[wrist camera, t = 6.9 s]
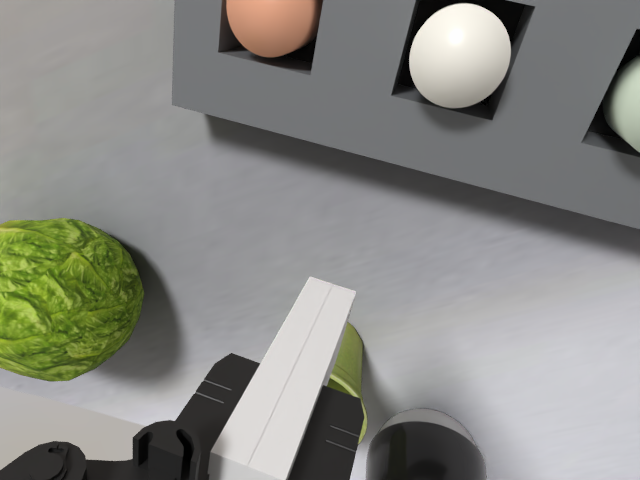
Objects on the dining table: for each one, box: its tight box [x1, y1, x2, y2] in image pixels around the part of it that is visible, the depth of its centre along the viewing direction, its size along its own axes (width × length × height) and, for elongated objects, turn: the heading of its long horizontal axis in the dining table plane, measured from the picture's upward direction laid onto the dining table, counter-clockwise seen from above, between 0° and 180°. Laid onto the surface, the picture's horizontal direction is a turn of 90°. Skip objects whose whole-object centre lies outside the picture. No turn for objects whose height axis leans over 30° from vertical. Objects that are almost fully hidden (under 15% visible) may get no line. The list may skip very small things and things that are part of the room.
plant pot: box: [327, 322, 367, 444], centre depth 39 cm, size 9×9×9 cm
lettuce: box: [0, 218, 144, 381], centre depth 42 cm, size 13×22×14 cm
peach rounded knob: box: [226, 0, 323, 57], centre depth 28 cm, size 5×5×4 cm
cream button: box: [409, 3, 511, 108], centre depth 26 cm, size 5×5×4 cm
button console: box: [172, 0, 640, 229], centre depth 27 cm, size 34×14×4 cm, turn 79°
